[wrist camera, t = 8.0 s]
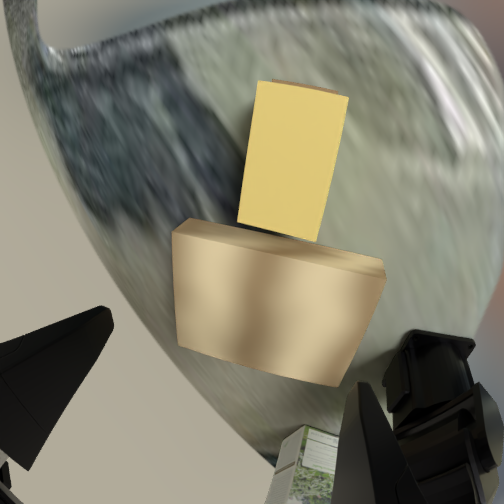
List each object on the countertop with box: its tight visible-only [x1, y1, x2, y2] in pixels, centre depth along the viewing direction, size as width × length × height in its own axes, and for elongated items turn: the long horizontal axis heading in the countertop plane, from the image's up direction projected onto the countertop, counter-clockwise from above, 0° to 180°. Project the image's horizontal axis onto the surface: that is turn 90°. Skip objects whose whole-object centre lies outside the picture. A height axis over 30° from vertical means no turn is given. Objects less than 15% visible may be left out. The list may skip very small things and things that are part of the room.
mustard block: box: [237, 79, 349, 242], centre depth 14 cm, size 4×4×7 cm
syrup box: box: [265, 425, 339, 504], centre depth 22 cm, size 6×6×14 cm
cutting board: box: [172, 218, 387, 388], centre depth 20 cm, size 13×10×2 cm
